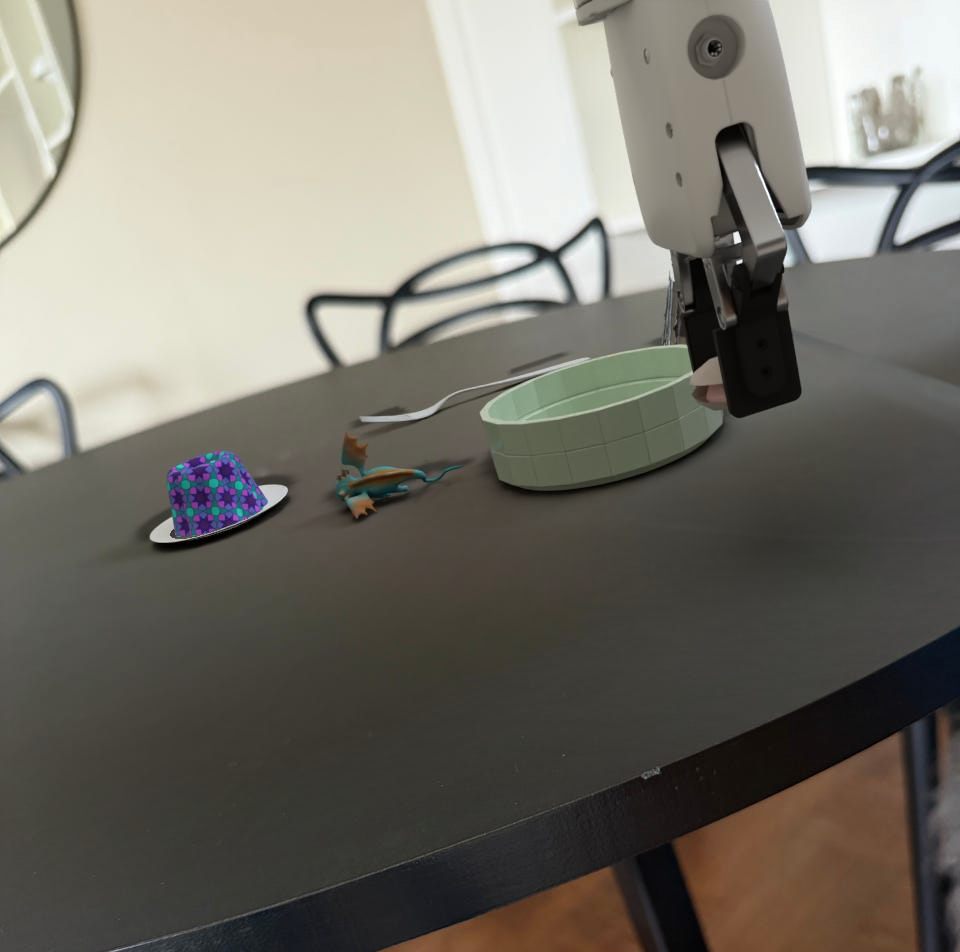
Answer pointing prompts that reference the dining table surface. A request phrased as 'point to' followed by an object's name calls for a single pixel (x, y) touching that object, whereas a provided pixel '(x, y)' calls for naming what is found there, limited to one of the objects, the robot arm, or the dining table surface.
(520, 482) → the bowl
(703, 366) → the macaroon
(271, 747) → the dining table surface
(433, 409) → the fork
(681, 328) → the chocolate cake
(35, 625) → the dining table surface
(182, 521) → the purple patterned hat
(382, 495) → the dragon figurine
